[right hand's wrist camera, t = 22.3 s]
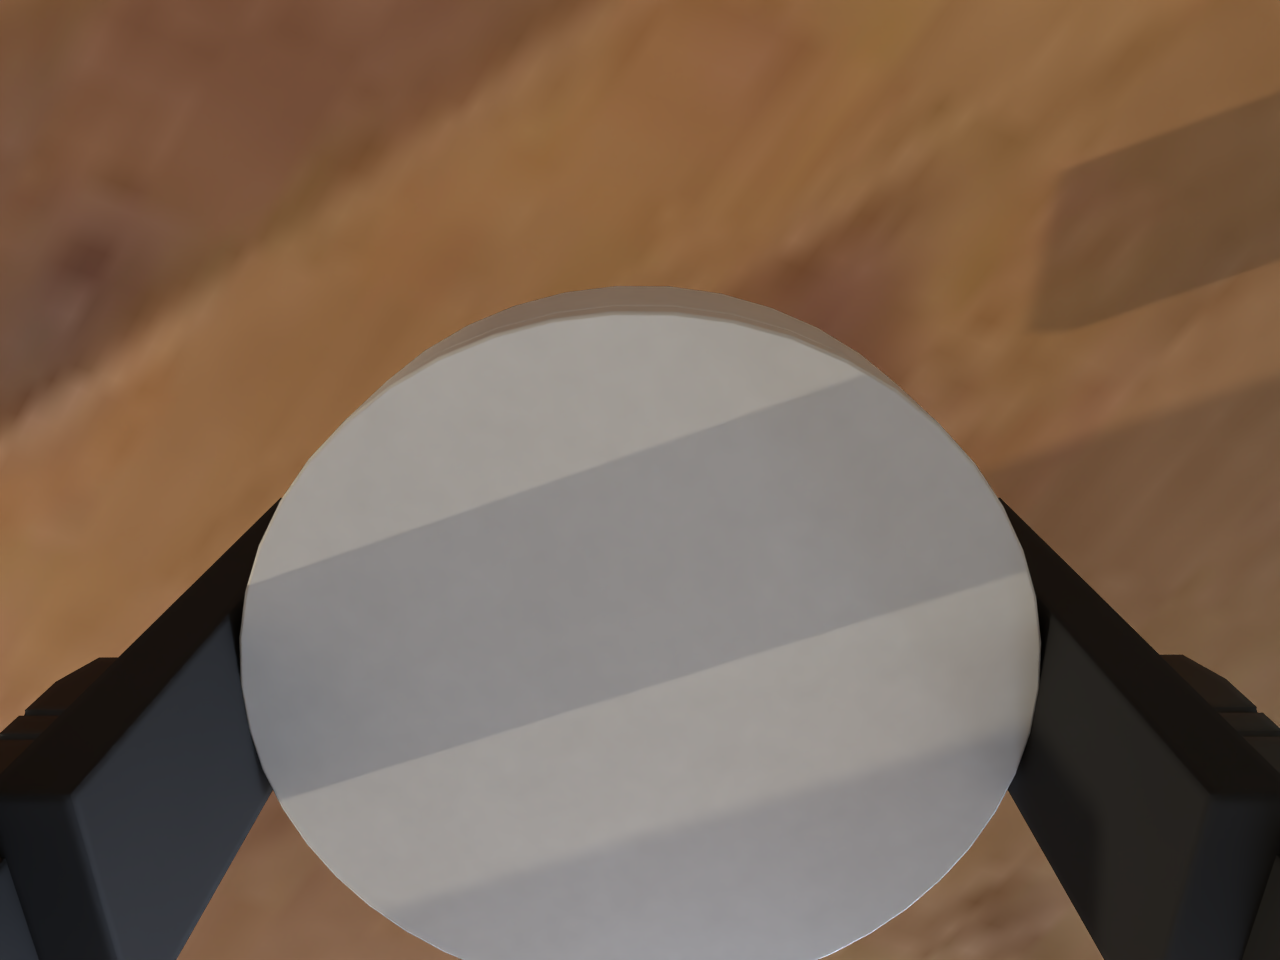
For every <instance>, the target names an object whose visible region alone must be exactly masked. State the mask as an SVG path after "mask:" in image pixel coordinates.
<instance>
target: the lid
mask: <svg viewBox="0 0 1280 960" xmlns="http://www.w3.org/2000/svg"><path fill="white" fill-rule="evenodd" d="M239 642H240V679H241V687H242V692H243V698H244V703H245V708H246V714H247V719H248V724H249V729H250V733H251V736H252V739H253V742H254V745H255V748H256V751H257V754H258V757H259V760H260V763H261V766H262V769H263V771H264V773H265V775H266V777H267V779H268V781H269V783H270V785H271V787H272V789H273V791H274V793H275V794H276V796H277V798H278V800H279V802H280V804H281V806H282V808H283V810H284V811H285V813H286V814H287V816H288V817H289V818H290V820H291V821H292V823H293V824H294V826H295V827H296V829H297V830H298V832H299V833H300V834H301V836H302V837H303V839H304V840H305V842H306V843H307V844H308V846H309V847H310V848H311V849H312V850H313V851H314V852H315V853H316V855H317V856H318V857H319V858H320V859H321V860H322V861H323V862H324V863H325V865H326V866H327V867H328V868H329V869H330V870H331V871H332V872H333V874H334V875H335V876H336V877H337V878H338V879H340V880H341V881H342V882H343V883H344V884H345V885H346V886H347V887H349V888H350V889H351V890H352V891H353V892H354V893H355V894H357V895H358V896H359V897H360V898H361V899H362V900H363V901H365V902H366V903H367V904H368V905H369V906H371V907H372V908H373V909H375V910H376V911H378V912H379V913H381V914H382V915H383V916H385V917H386V918H388V919H389V920H391V921H392V922H394V923H395V924H396V925H398V926H399V927H401V928H402V929H404V930H405V931H407V932H409V933H411V934H412V935H414V936H416V937H418V938H420V939H422V940H423V941H425V942H427V943H429V944H431V945H433V946H434V947H436V948H438V949H440V950H442V951H444V952H446V953H448V954H451V955H453V956H456V957H458V958H460V959H463V960H818V959H820V958H823V957H825V956H828V955H830V954H832V953H834V952H836V951H838V950H840V949H842V948H844V947H846V946H847V945H849V944H851V943H853V942H855V941H857V940H859V939H861V938H863V937H864V936H866V935H868V934H870V933H872V932H873V931H875V930H876V929H878V928H879V927H881V926H882V925H884V924H885V923H887V922H888V921H890V920H891V919H892V918H894V917H895V916H897V915H898V914H900V913H901V912H903V911H904V910H906V909H907V908H908V907H910V906H911V905H912V904H913V903H914V902H915V901H917V900H918V899H919V898H920V897H921V896H922V895H924V894H925V893H926V892H927V891H928V890H929V889H931V888H932V887H933V886H934V885H935V884H936V883H938V882H939V881H940V880H941V879H942V878H943V877H944V876H945V875H946V874H947V872H948V871H949V870H950V869H951V868H952V867H953V866H954V865H955V864H956V863H957V862H958V860H959V859H960V858H961V857H962V856H963V855H964V854H965V853H966V852H967V851H968V850H969V849H970V847H971V846H972V844H973V843H974V842H975V840H976V839H977V837H978V836H979V835H980V833H981V832H982V830H983V829H984V828H985V826H986V825H987V823H988V822H989V821H990V819H991V818H992V816H993V815H994V814H995V812H996V810H997V808H998V806H999V804H1000V803H1001V801H1002V799H1003V797H1004V795H1005V793H1006V791H1007V789H1008V787H1009V785H1010V783H1011V782H1012V780H1013V778H1014V776H1015V774H1016V771H1017V769H1018V766H1019V763H1020V760H1021V757H1022V755H1023V752H1024V749H1025V746H1026V743H1027V741H1028V738H1029V735H1030V732H1031V726H1032V721H1033V716H1034V711H1035V706H1036V701H1037V695H1038V690H1039V681H1040V658H1041V637H1040V628H1039V619H1038V610H1037V601H1036V595H1035V591H1034V587H1033V584H1032V580H1031V577H1030V573H1029V569H1028V566H1027V562H1026V558H1025V555H1024V551H1023V549H1022V547H1021V544H1020V542H1019V540H1018V538H1017V536H1016V533H1015V531H1014V529H1013V527H1012V525H1011V522H1010V520H1009V518H1008V516H1007V514H1006V511H1005V509H1004V507H1003V505H1002V504H1001V502H1000V501H999V499H998V498H997V496H996V495H995V493H994V492H993V490H992V489H991V487H990V485H989V484H988V482H987V481H986V479H985V478H984V476H983V475H982V473H981V472H980V470H979V469H978V467H977V466H976V464H975V463H974V462H973V461H972V460H971V458H970V457H969V456H968V455H967V454H966V453H965V452H964V451H963V450H962V448H961V447H960V446H959V445H958V444H957V443H956V442H955V441H954V440H953V439H952V437H951V436H950V435H949V434H948V433H947V432H946V431H945V430H944V429H943V427H942V426H941V425H940V424H939V423H938V422H937V421H936V420H935V419H934V418H932V417H931V416H930V415H929V414H928V413H927V412H926V411H925V410H924V409H923V408H922V407H921V406H920V405H919V404H917V403H916V402H915V401H914V400H913V399H912V398H911V397H910V396H909V395H908V394H907V393H906V392H905V391H904V390H902V389H901V388H900V387H899V386H898V385H897V384H896V383H895V382H894V381H892V380H891V379H890V378H889V377H887V376H886V375H885V374H884V373H883V372H881V371H880V370H879V369H878V368H877V367H875V366H874V365H873V364H872V363H871V362H869V361H868V360H867V359H866V358H864V357H863V356H862V355H861V354H860V353H858V352H856V351H855V350H853V349H851V348H850V347H848V346H846V345H845V344H843V343H841V342H840V341H838V340H837V339H835V338H833V337H832V336H830V335H828V334H827V333H825V332H823V331H822V330H820V329H819V328H817V327H814V326H812V325H810V324H807V323H805V322H803V321H801V320H798V319H796V318H794V317H791V316H789V315H787V314H784V313H782V312H780V311H778V310H775V309H773V308H770V307H767V306H763V305H760V304H756V303H753V302H749V301H745V300H742V299H738V298H735V297H731V296H728V295H724V294H720V293H713V292H706V291H699V290H692V289H684V288H677V287H670V286H613V287H605V288H597V289H589V290H581V291H573V292H565V293H561V294H557V295H554V296H550V297H546V298H542V299H539V300H535V301H531V302H527V303H523V304H520V305H516V306H513V307H511V308H508V309H506V310H503V311H501V312H499V313H496V314H494V315H491V316H489V317H487V318H484V319H482V320H479V321H477V322H475V323H472V324H470V325H468V326H466V327H464V328H462V329H461V330H459V331H457V332H456V333H454V334H452V335H451V336H449V337H447V338H445V339H444V340H442V341H440V342H439V343H437V344H435V345H434V346H432V347H430V348H428V349H427V350H425V351H424V352H423V353H421V354H420V355H419V356H418V357H416V358H415V359H414V360H413V361H411V362H410V363H409V364H408V365H406V366H405V367H404V368H403V369H401V370H400V371H399V372H397V373H396V374H395V375H394V376H392V377H391V378H390V379H389V380H387V381H386V382H385V383H384V384H383V385H382V386H381V387H380V388H379V389H378V390H377V391H376V392H375V393H374V394H372V395H371V396H370V397H369V398H368V399H367V400H366V401H365V402H364V403H363V404H362V405H361V406H360V407H359V408H358V409H356V411H355V412H353V413H352V414H351V415H350V416H349V417H348V418H347V419H346V420H345V421H344V422H343V423H342V424H341V425H340V426H339V427H338V428H337V429H336V430H335V432H334V433H333V434H332V435H331V436H330V437H329V438H328V439H327V440H326V441H325V442H324V443H323V444H322V445H321V447H320V448H319V449H318V450H317V451H316V452H315V453H314V454H313V455H312V456H311V457H310V458H309V460H308V461H307V463H306V464H305V465H304V467H303V468H302V470H301V471H300V473H299V474H298V476H297V477H296V479H295V480H294V482H293V483H292V484H291V486H290V487H289V489H288V490H287V492H286V493H285V495H284V496H283V498H282V499H281V501H280V502H279V505H278V507H277V509H276V511H275V513H274V515H273V517H272V519H271V521H270V523H269V525H268V528H267V530H266V532H265V534H264V536H263V538H262V540H261V542H260V544H259V547H258V550H257V554H256V557H255V561H254V564H253V567H252V571H251V574H250V577H249V581H248V584H247V588H246V591H245V598H244V606H243V614H242V621H241V629H240V637H239Z"/></svg>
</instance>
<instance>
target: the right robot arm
mask: <svg viewBox="0 0 1280 960" xmlns="http://www.w3.org/2000/svg"><path fill="white" fill-rule="evenodd" d="M281 499H282V498H280V499H279V500H278V501H277V502H276V503H275V504H274V505H273V506H272V507H271V508H270V509H269V510H268V511H267V512H266V513H265V514H264V515H263V516H262V517H261V518H260V519H259V520H258V521H257V522H256V523H255V524H254V525H253V526H252V527H251V528H250V529H249V530H248V531H246V532H245V533H244V534H243V535H242V536H241V537H240V538H239V539H238V540H237V541H236V542H235V543H234V544H233V545H232V546H231V547H230V548H229V549H228V550H227V551H226V552H225V553H224V554H223V555H222V556H221V557H220V558H219V559H218V560H217V561H216V562H215V563H214V564H213V565H212V566H211V567H210V568H209V569H208V570H207V571H206V572H205V573H204V574H203V575H202V576H201V577H200V578H199V579H198V580H197V581H196V582H195V583H194V584H193V585H192V586H191V587H190V588H189V589H188V590H187V591H186V592H185V593H184V594H183V595H181V596H180V597H179V598H178V599H177V600H176V601H175V602H174V603H173V604H172V605H171V606H170V607H169V608H168V609H167V610H166V611H165V612H164V613H163V614H162V615H161V616H160V617H159V618H158V619H157V620H156V621H155V622H154V623H153V624H152V625H151V626H150V627H149V628H148V629H147V630H146V631H145V632H144V633H143V634H142V635H141V636H140V637H139V638H138V639H137V640H136V641H135V642H134V643H133V644H132V645H131V646H130V647H129V648H128V649H127V650H126V651H125V652H124V653H123V654H122V655H121V656H120V657H119V658H98V659H96V660H94V661H92V662H90V663H89V664H87V665H85V666H83V667H81V668H80V669H78V670H76V671H74V672H73V673H71V674H69V675H67V676H65V677H64V678H62V679H60V680H58V681H56V682H55V683H54V684H53V685H52V686H51V687H50V688H49V689H48V690H46V691H45V692H44V693H43V694H42V695H41V696H40V697H39V698H38V699H37V700H36V701H35V702H33V703H32V704H31V705H30V706H29V707H28V708H27V709H26V710H25V715H24V716H18V717H17V718H16V719H15V720H14V721H13V722H12V723H11V724H10V725H8V726H7V727H6V728H5V729H4V730H3V731H2V732H1V733H0V960H176V959H177V957H178V956H179V954H180V952H181V950H182V949H183V947H184V945H185V943H186V942H187V940H188V938H189V936H190V935H191V933H192V931H193V929H194V928H195V926H196V924H197V922H198V920H199V919H200V917H201V915H202V913H203V912H204V910H205V908H206V906H207V905H208V903H209V901H210V899H211V898H212V896H213V894H214V892H215V891H216V889H217V887H218V885H219V884H220V882H221V880H222V878H223V877H224V875H225V873H226V871H227V869H228V868H229V866H230V864H231V862H232V861H233V859H234V857H235V855H236V854H237V852H238V850H239V848H240V847H241V845H242V843H243V841H244V840H245V838H246V836H247V834H248V833H249V831H250V829H251V827H252V825H253V824H254V822H255V820H256V818H257V817H258V815H259V813H260V811H261V810H262V808H263V806H264V804H265V803H266V801H267V799H268V797H269V796H270V794H271V792H272V790H273V789H272V787H271V785H270V783H269V781H268V779H267V777H266V775H265V773H264V771H263V769H262V766H261V763H260V760H259V757H258V754H257V751H256V748H255V745H254V742H253V739H252V736H251V733H250V729H249V724H248V719H247V714H246V708H245V703H244V698H243V692H242V687H241V679H240V642H239V637H240V629H241V621H242V614H243V606H244V598H245V591H246V588H247V584H248V581H249V577H250V574H251V571H252V567H253V564H254V561H255V557H256V554H257V550H258V547H259V544H260V542H261V540H262V538H263V536H264V534H265V532H266V530H267V528H268V525H269V523H270V521H271V519H272V517H273V515H274V513H275V511H276V509H277V507H278V505H279V502H280V501H281ZM998 499H999V501H1000V502H1001V504H1002V505H1003V507H1004V509H1005V511H1006V514H1007V516H1008V518H1009V520H1010V522H1011V525H1012V527H1013V529H1014V531H1015V533H1016V536H1017V538H1018V540H1019V542H1020V544H1021V547H1022V549H1023V551H1024V555H1025V558H1026V562H1027V566H1028V569H1029V573H1030V577H1031V580H1032V584H1033V587H1034V591H1035V595H1036V601H1037V610H1038V619H1039V628H1040V637H1041V658H1040V681H1039V690H1038V695H1037V701H1036V706H1035V711H1034V716H1033V721H1032V726H1031V732H1030V735H1029V738H1028V741H1027V743H1026V746H1025V749H1024V752H1023V755H1022V757H1021V760H1020V763H1019V766H1018V769H1017V771H1016V774H1015V776H1014V778H1013V780H1012V782H1011V783H1010V785H1009V787H1008V791H1009V793H1010V795H1011V796H1012V798H1013V800H1014V802H1015V803H1016V805H1017V807H1018V809H1019V810H1020V812H1021V814H1022V816H1023V817H1024V819H1025V821H1026V823H1027V824H1028V826H1029V828H1030V830H1031V831H1032V833H1033V835H1034V837H1035V839H1036V840H1037V842H1038V844H1039V846H1040V847H1041V849H1042V851H1043V853H1044V854H1045V856H1046V858H1047V860H1048V861H1049V863H1050V865H1051V867H1052V868H1053V870H1054V872H1055V874H1056V875H1057V877H1058V879H1059V881H1060V883H1061V884H1062V886H1063V888H1064V890H1065V891H1066V893H1067V895H1068V897H1069V898H1070V900H1071V902H1072V904H1073V905H1074V907H1075V909H1076V911H1077V912H1078V914H1079V916H1080V918H1081V919H1082V921H1083V923H1084V925H1085V926H1086V928H1087V930H1088V932H1089V934H1090V935H1091V937H1092V939H1093V941H1094V942H1095V944H1096V946H1097V948H1098V949H1099V951H1100V953H1101V955H1102V956H1103V958H1104V960H1280V728H1279V727H1278V726H1277V725H1276V724H1274V723H1273V722H1272V721H1271V720H1270V719H1269V718H1268V717H1267V716H1266V715H1265V714H1264V713H1257V710H1256V708H1257V707H1256V706H1255V705H1254V704H1253V703H1252V702H1250V701H1249V700H1248V699H1247V698H1246V697H1245V696H1244V695H1243V694H1242V693H1241V692H1239V691H1238V690H1237V689H1236V688H1235V687H1234V686H1233V685H1232V684H1231V683H1230V682H1229V681H1227V680H1226V679H1225V678H1223V677H1221V676H1220V675H1218V674H1216V673H1214V672H1212V671H1211V670H1209V669H1207V668H1205V667H1203V666H1202V665H1200V664H1198V663H1196V662H1194V661H1193V660H1191V659H1189V658H1187V657H1185V656H1184V655H1159V654H1158V653H1157V652H1156V651H1155V650H1154V649H1153V648H1152V647H1151V646H1150V645H1149V644H1148V643H1147V642H1146V641H1145V640H1144V639H1143V638H1142V637H1141V636H1140V635H1139V634H1138V633H1137V632H1136V631H1135V630H1134V629H1133V628H1132V627H1131V626H1130V625H1129V624H1128V623H1127V622H1126V621H1125V620H1124V619H1123V618H1121V617H1120V616H1119V615H1118V614H1117V613H1116V612H1115V611H1114V610H1113V609H1112V608H1111V607H1110V606H1109V605H1108V604H1107V603H1106V602H1105V601H1104V600H1103V599H1102V598H1101V597H1100V596H1099V595H1098V594H1097V593H1096V592H1095V591H1094V590H1093V589H1092V588H1091V587H1090V586H1089V585H1088V584H1087V583H1086V582H1085V581H1084V580H1083V579H1082V578H1081V577H1080V576H1079V575H1078V574H1077V573H1076V572H1075V571H1074V570H1073V569H1072V568H1071V567H1070V566H1069V565H1068V564H1067V563H1066V562H1065V561H1064V560H1063V559H1062V558H1061V557H1060V556H1059V555H1057V554H1056V553H1055V552H1054V551H1053V550H1052V549H1051V548H1050V547H1049V546H1048V545H1047V544H1046V543H1045V542H1044V541H1043V540H1042V539H1041V538H1040V537H1039V536H1038V535H1037V534H1036V533H1035V532H1034V531H1033V530H1032V529H1031V528H1030V527H1029V526H1028V525H1027V524H1026V523H1025V522H1024V521H1023V520H1022V519H1021V518H1020V517H1019V516H1018V515H1017V514H1016V513H1015V512H1014V511H1013V510H1012V509H1011V508H1010V507H1009V506H1008V505H1007V504H1006V503H1005V502H1004V501H1003V500H1002V499H1001V498H998Z"/></svg>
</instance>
